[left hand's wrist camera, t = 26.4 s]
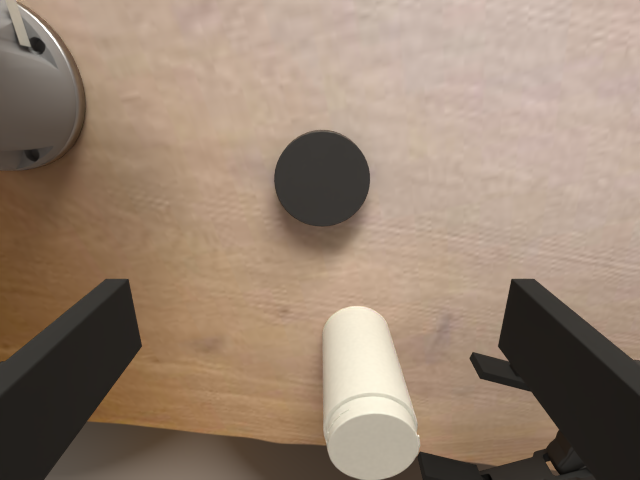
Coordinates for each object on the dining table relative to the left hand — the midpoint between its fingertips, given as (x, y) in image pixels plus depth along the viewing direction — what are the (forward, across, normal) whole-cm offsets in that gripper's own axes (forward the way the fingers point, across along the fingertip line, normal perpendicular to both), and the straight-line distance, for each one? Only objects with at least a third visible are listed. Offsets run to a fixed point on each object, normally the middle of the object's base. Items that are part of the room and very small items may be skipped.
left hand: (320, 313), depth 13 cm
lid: (+25, 0, 0) cm, 25 cm away
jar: (+26, +4, -19) cm, 33 cm away
